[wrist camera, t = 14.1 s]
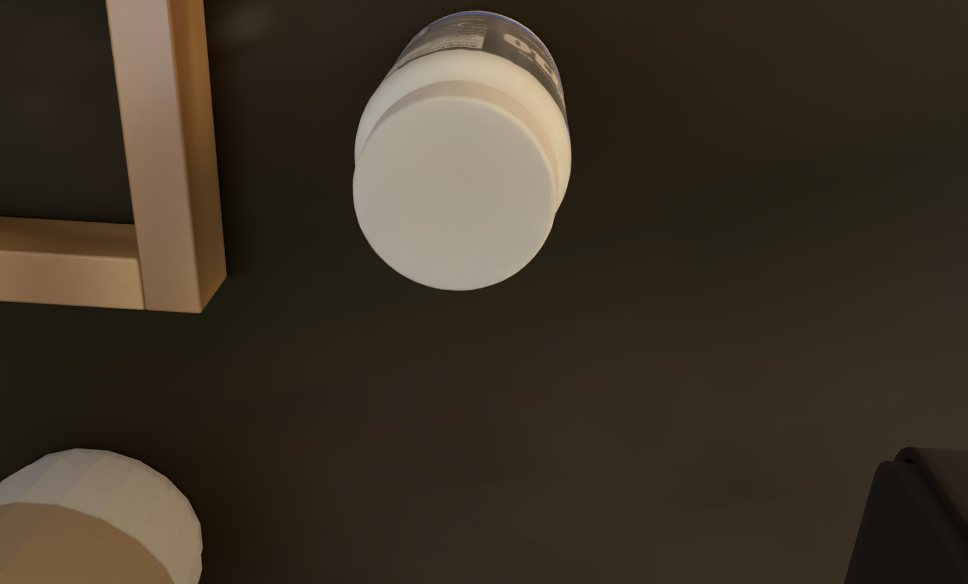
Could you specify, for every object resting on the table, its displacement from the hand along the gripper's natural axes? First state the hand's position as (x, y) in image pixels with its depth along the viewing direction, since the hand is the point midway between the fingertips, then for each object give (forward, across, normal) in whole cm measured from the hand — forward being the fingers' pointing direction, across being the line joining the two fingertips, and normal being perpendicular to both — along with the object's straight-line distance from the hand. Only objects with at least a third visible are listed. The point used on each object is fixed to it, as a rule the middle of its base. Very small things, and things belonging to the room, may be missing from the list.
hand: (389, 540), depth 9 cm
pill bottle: (+18, 0, 0) cm, 18 cm away
